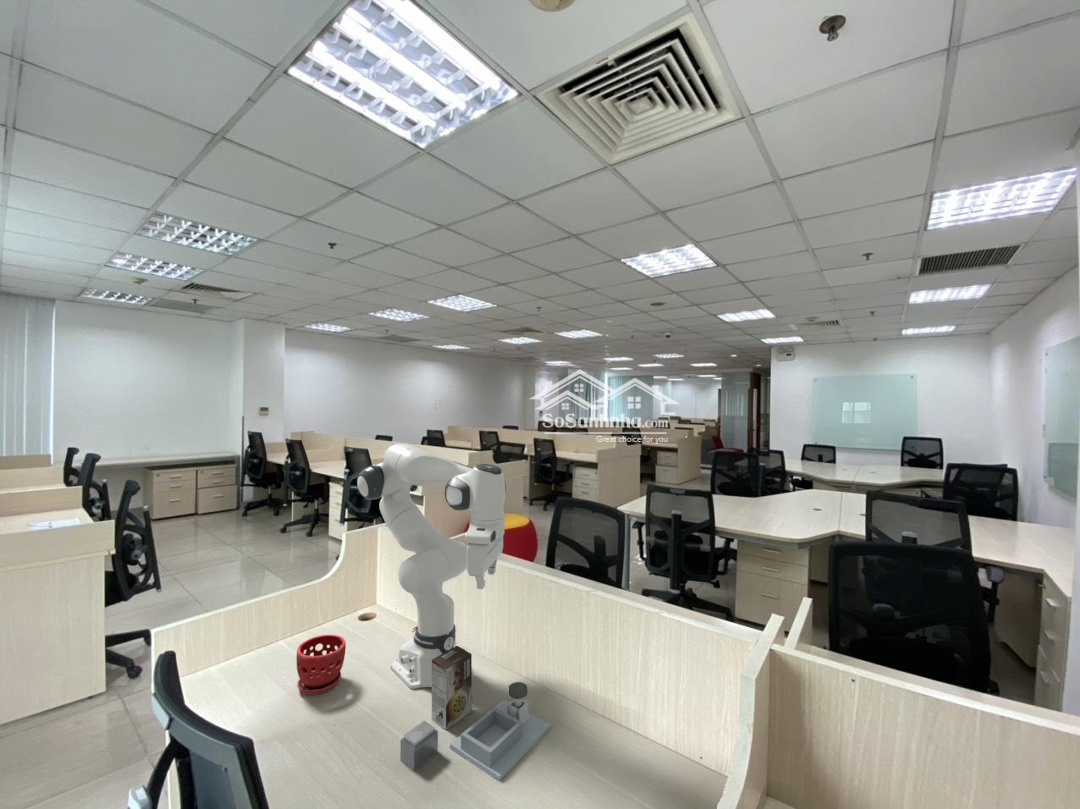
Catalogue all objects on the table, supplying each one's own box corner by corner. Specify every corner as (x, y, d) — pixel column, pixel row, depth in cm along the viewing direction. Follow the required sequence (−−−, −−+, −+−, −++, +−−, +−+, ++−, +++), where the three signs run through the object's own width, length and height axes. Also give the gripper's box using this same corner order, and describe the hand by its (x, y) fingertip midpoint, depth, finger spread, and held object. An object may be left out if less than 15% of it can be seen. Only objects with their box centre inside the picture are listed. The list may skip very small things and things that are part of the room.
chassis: (449, 747, 108) (450, 727, 108) (503, 703, 124) (503, 685, 124) (499, 781, 98) (499, 758, 98) (550, 728, 114) (550, 709, 114)
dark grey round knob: (504, 707, 116) (504, 689, 116) (516, 697, 120) (516, 679, 120) (519, 715, 113) (519, 696, 113) (531, 704, 117) (531, 686, 117)
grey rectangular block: (400, 761, 104) (400, 735, 104) (424, 742, 109) (424, 718, 109) (414, 771, 101) (414, 745, 101) (437, 752, 107) (437, 727, 107)
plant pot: (309, 705, 122) (309, 662, 122) (288, 687, 130) (288, 646, 130) (353, 682, 133) (354, 642, 133) (331, 666, 141) (331, 628, 141)
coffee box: (457, 701, 124) (457, 644, 124) (472, 712, 120) (472, 652, 120) (430, 719, 117) (430, 658, 117) (445, 731, 113) (446, 668, 113)
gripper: (487, 516, 126) (486, 565, 126) (462, 538, 106) (461, 595, 106) (509, 518, 125) (508, 567, 125) (487, 540, 104) (486, 598, 105)
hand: (486, 580), depth 115 cm, fingers open, 8 cm apart
